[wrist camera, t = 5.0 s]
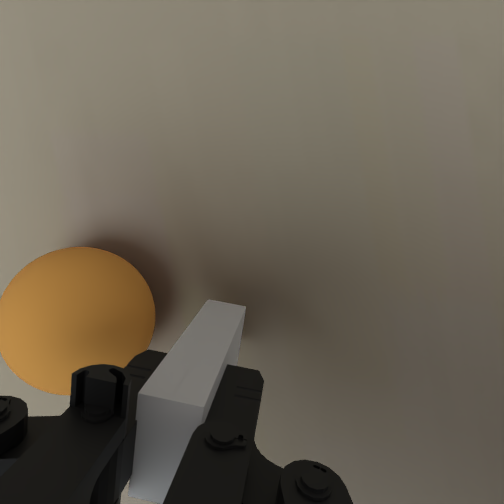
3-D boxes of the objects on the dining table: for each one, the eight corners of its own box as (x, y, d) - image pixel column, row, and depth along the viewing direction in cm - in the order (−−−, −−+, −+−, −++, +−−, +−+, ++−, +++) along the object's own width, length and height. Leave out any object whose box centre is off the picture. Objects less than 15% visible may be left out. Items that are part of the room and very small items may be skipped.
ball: (-34, 265, 11) (24, 224, 16) (-34, 432, 12) (20, 345, 17) (166, 281, 12) (160, 239, 18) (147, 428, 14) (147, 349, 19)
